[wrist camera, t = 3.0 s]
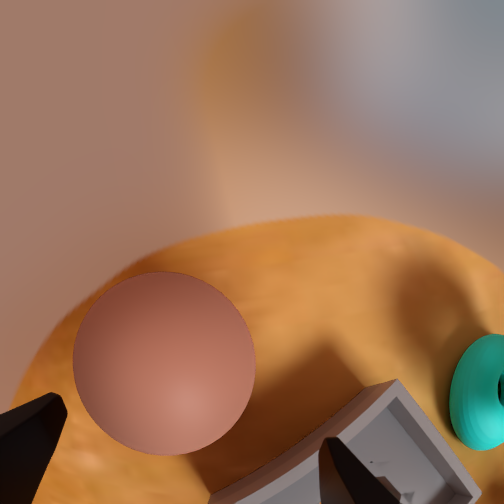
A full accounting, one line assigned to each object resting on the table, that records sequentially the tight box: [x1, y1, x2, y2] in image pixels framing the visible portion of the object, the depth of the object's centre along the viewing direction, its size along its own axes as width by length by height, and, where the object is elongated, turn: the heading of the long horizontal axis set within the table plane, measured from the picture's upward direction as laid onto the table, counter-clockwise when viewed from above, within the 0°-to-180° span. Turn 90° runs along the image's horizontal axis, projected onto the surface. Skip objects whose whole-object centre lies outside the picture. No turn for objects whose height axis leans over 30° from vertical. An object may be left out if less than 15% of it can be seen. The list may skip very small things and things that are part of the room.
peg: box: [73, 272, 256, 455], centre depth 11 cm, size 4×4×13 cm
